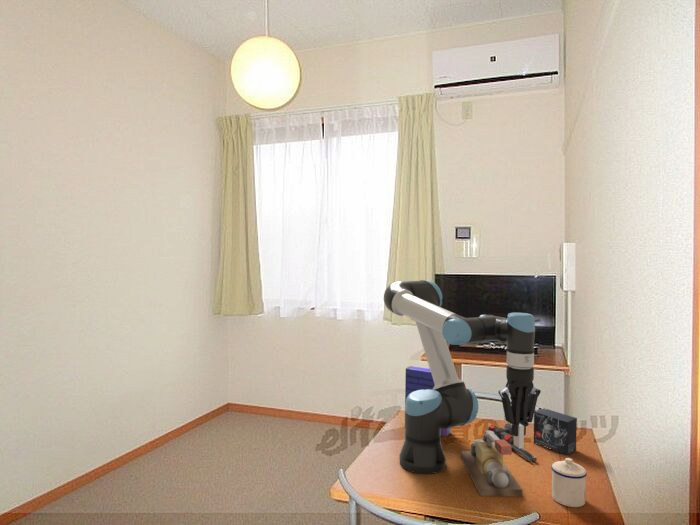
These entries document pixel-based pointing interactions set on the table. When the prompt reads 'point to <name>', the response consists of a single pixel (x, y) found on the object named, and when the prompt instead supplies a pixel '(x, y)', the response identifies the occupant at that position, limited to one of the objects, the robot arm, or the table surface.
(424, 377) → the cereal box
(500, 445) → the valve lever
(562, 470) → the white lidded jar
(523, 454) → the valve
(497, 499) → the table surface
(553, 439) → the small box
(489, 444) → the valve stand
